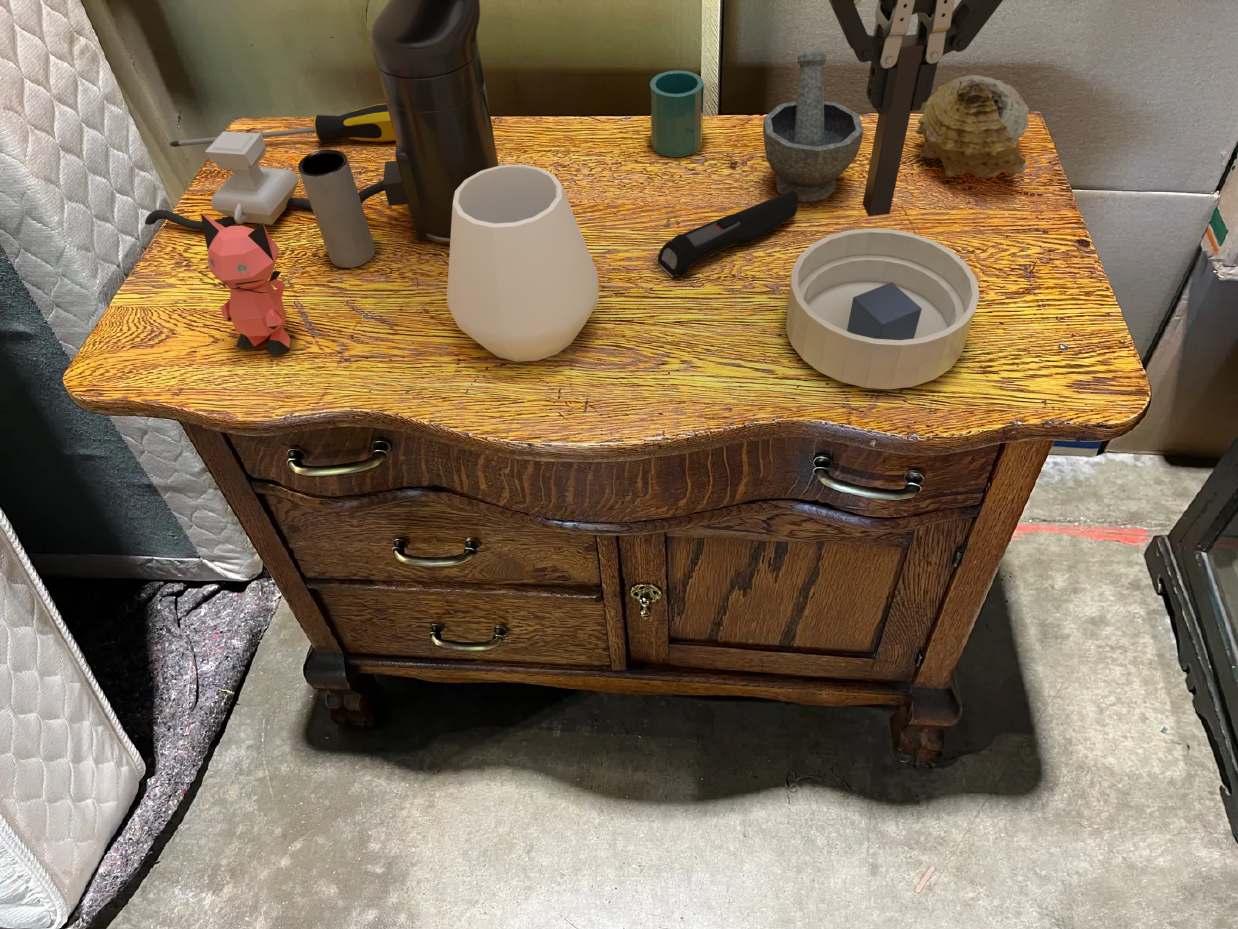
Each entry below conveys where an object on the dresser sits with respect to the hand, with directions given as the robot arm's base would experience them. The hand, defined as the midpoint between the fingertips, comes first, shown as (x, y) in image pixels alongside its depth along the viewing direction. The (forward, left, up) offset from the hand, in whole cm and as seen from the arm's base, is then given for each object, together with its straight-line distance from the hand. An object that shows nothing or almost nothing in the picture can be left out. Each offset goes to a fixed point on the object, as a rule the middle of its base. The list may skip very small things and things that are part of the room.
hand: (895, 106), depth 68 cm
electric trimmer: (-10, +11, -19) cm, 24 cm away
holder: (-12, +30, -19) cm, 37 cm away
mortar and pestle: (0, +20, -19) cm, 27 cm away
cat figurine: (-54, +4, -19) cm, 57 cm away
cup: (-30, +2, -19) cm, 35 cm away
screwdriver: (-40, +37, -16) cm, 57 cm away
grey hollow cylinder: (-47, +16, -19) cm, 53 cm away
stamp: (-57, +25, -19) cm, 65 cm away
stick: (0, 0, -9) cm, 9 cm away
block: (0, -6, -18) cm, 19 cm away
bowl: (0, -4, -19) cm, 19 cm away
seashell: (+21, +19, -11) cm, 30 cm away
